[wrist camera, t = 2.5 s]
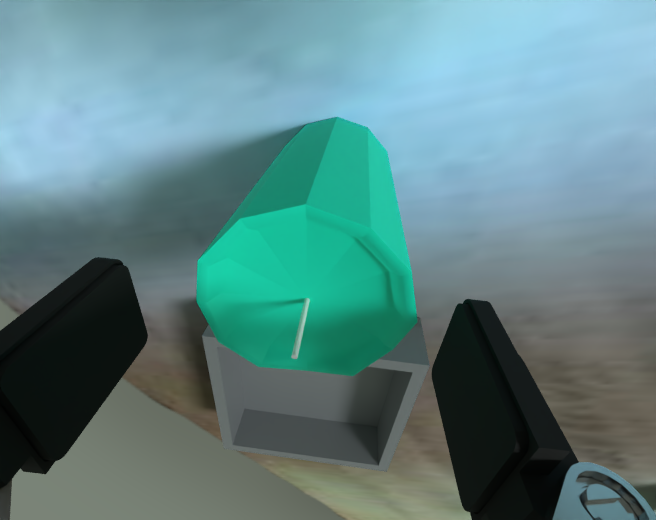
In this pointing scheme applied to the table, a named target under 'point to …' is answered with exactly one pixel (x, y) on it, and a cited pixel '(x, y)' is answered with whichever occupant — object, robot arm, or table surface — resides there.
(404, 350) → the box
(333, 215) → the candle
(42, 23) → the table surface
